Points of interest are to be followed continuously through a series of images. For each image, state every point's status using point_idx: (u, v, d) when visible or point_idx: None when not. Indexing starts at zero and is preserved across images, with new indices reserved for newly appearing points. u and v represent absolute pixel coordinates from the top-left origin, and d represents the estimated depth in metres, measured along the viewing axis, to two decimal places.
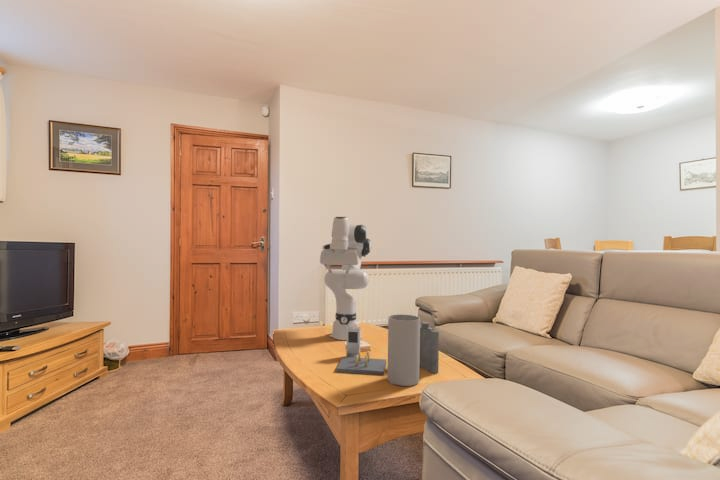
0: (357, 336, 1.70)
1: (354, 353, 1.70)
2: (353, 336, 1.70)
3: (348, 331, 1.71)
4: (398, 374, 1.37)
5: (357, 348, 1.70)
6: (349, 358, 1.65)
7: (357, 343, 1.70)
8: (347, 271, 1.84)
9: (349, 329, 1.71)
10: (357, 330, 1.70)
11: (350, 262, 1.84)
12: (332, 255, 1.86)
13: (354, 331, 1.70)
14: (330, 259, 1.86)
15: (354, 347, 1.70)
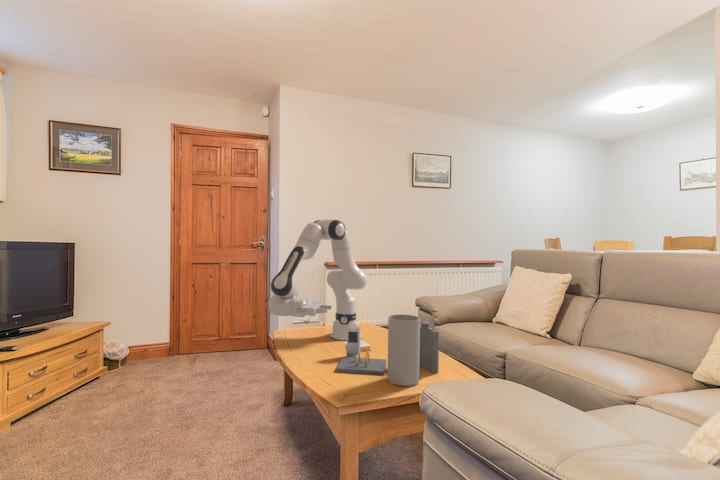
0: (357, 336, 1.70)
1: (354, 353, 1.70)
2: (353, 336, 1.70)
3: (348, 331, 1.71)
4: (398, 374, 1.37)
5: (357, 348, 1.70)
6: (349, 358, 1.65)
7: (357, 343, 1.70)
8: None
9: (349, 329, 1.71)
10: (357, 330, 1.70)
11: None
12: None
13: (354, 331, 1.70)
14: None
15: (354, 347, 1.70)
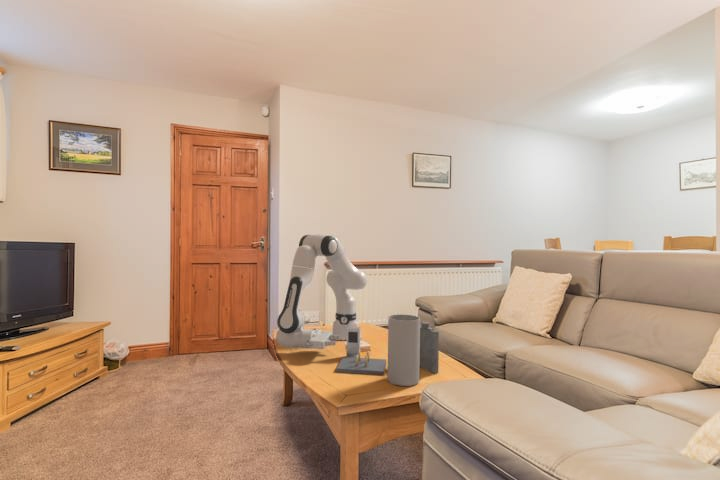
0: (357, 336, 1.70)
1: (354, 353, 1.70)
2: (353, 336, 1.70)
3: (348, 331, 1.71)
4: (398, 374, 1.37)
5: (357, 348, 1.70)
6: (349, 358, 1.65)
7: (357, 343, 1.70)
8: None
9: (349, 329, 1.71)
10: (357, 330, 1.70)
11: None
12: None
13: (354, 331, 1.70)
14: None
15: (354, 347, 1.70)
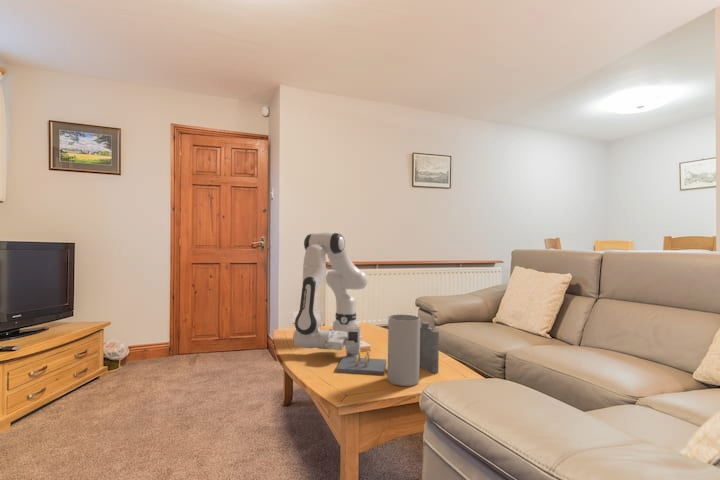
0: (357, 336, 1.70)
1: (354, 353, 1.70)
2: (353, 336, 1.70)
3: (348, 331, 1.71)
4: (398, 374, 1.37)
5: (357, 348, 1.70)
6: (349, 358, 1.65)
7: (357, 343, 1.70)
8: None
9: (349, 329, 1.71)
10: (357, 330, 1.70)
11: None
12: None
13: (354, 331, 1.70)
14: None
15: (354, 347, 1.70)
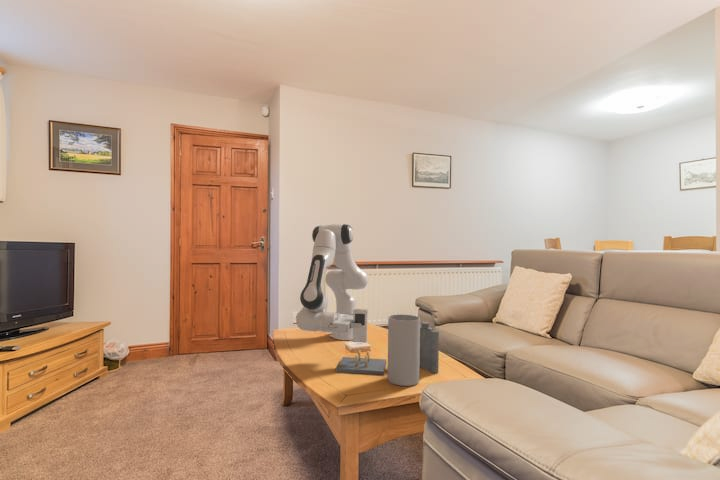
0: (364, 318, 1.59)
1: (361, 336, 1.59)
2: (360, 318, 1.59)
3: (355, 313, 1.60)
4: (398, 374, 1.37)
5: (364, 331, 1.59)
6: (349, 358, 1.65)
7: (364, 326, 1.59)
8: None
9: (356, 311, 1.60)
10: (364, 312, 1.59)
11: None
12: None
13: (361, 313, 1.59)
14: None
15: (361, 330, 1.59)
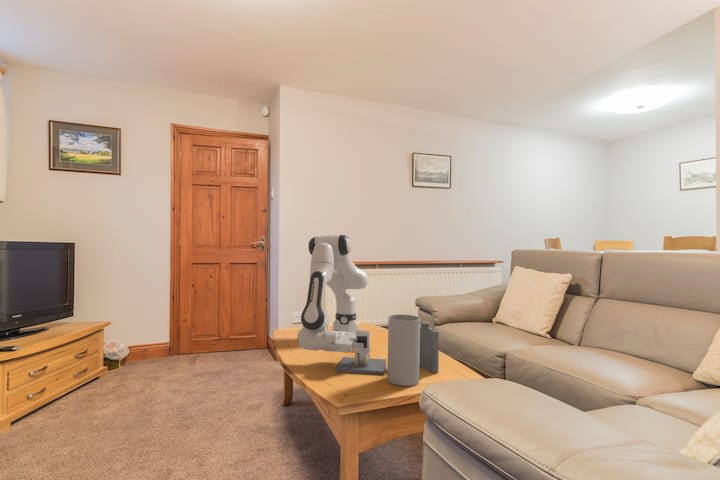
0: (366, 341, 1.56)
1: (363, 359, 1.57)
2: (362, 340, 1.57)
3: (357, 335, 1.57)
4: (398, 374, 1.37)
5: (366, 354, 1.56)
6: (349, 358, 1.65)
7: (366, 348, 1.56)
8: None
9: (358, 333, 1.57)
10: (366, 334, 1.56)
11: None
12: None
13: (363, 335, 1.57)
14: None
15: (363, 353, 1.57)
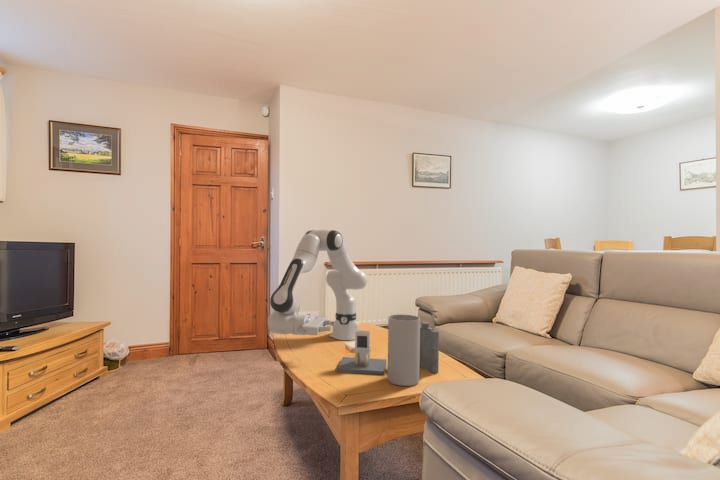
0: (366, 340, 1.57)
1: (363, 359, 1.57)
2: (362, 340, 1.57)
3: (357, 335, 1.57)
4: (398, 374, 1.37)
5: (366, 354, 1.57)
6: (349, 358, 1.65)
7: (366, 348, 1.57)
8: None
9: (358, 333, 1.57)
10: (366, 334, 1.57)
11: None
12: None
13: (363, 335, 1.57)
14: None
15: (363, 353, 1.57)
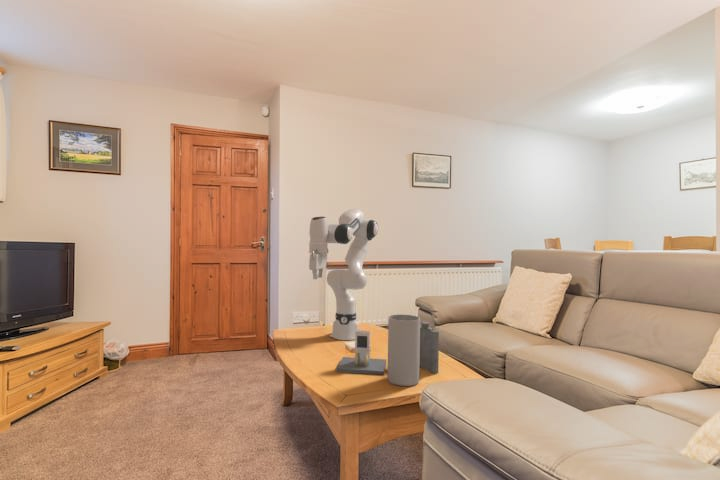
0: (366, 340, 1.57)
1: (363, 359, 1.57)
2: (362, 340, 1.57)
3: (357, 335, 1.57)
4: (398, 374, 1.37)
5: (366, 354, 1.57)
6: (349, 358, 1.65)
7: (366, 348, 1.57)
8: None
9: (358, 333, 1.57)
10: (366, 334, 1.57)
11: None
12: None
13: (363, 335, 1.57)
14: None
15: (363, 353, 1.57)
